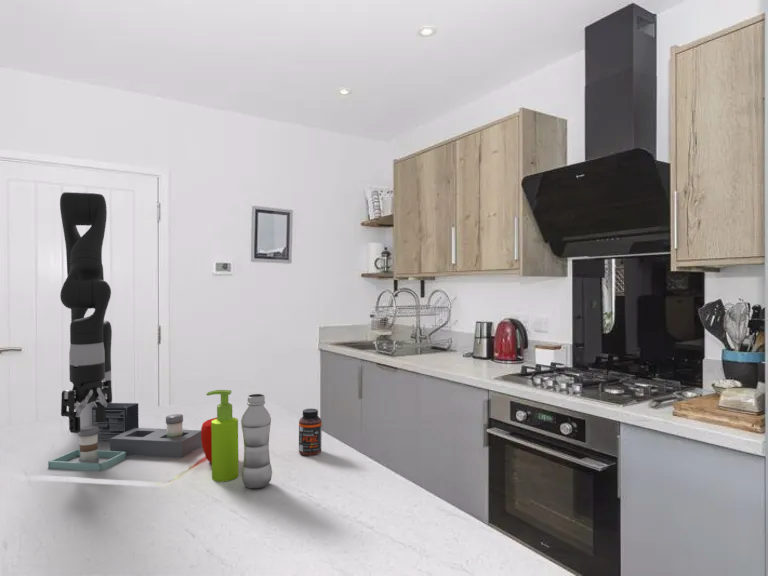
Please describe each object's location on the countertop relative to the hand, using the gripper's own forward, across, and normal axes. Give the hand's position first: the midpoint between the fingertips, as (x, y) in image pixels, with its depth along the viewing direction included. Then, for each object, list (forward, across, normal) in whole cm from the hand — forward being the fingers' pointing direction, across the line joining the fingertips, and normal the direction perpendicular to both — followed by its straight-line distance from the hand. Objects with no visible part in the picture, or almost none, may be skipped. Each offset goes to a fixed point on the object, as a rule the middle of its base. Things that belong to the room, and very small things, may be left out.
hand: (88, 427), depth 126 cm
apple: (+10, -8, +30) cm, 33 cm away
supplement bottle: (+10, -17, +51) cm, 55 cm away
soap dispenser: (+10, +2, +36) cm, 37 cm away
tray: (+10, 0, 0) cm, 10 cm away
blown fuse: (+9, 0, 0) cm, 9 cm away
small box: (+10, -19, -7) cm, 23 cm away
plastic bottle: (+9, +6, +46) cm, 47 cm away
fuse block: (+10, -11, +11) cm, 19 cm away
